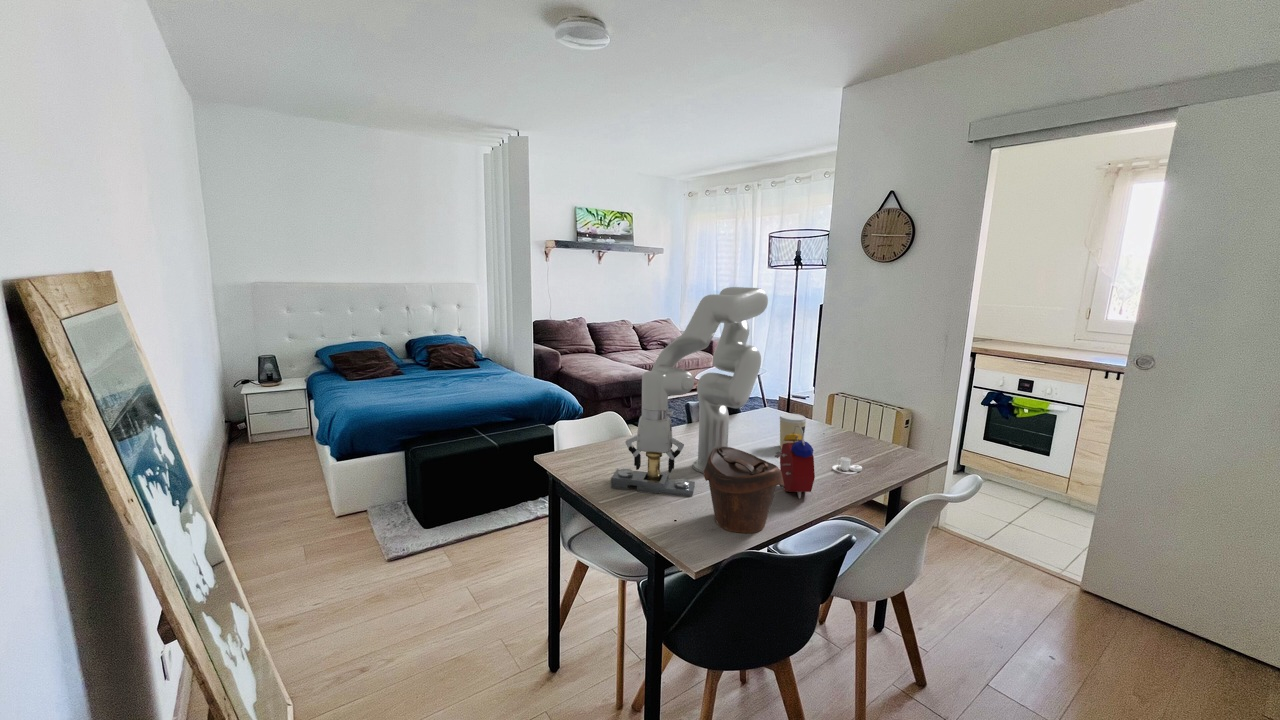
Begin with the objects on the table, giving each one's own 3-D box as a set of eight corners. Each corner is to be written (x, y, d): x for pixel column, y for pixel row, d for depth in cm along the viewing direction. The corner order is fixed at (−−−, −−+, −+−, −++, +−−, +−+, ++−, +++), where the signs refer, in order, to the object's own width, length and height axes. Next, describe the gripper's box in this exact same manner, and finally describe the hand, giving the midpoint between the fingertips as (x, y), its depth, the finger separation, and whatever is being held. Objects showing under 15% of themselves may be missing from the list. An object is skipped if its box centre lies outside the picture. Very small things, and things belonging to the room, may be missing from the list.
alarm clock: (813, 502, 143) (818, 433, 140) (782, 501, 143) (786, 433, 140) (798, 481, 157) (802, 418, 154) (770, 480, 158) (773, 418, 154)
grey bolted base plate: (694, 485, 153) (695, 472, 152) (691, 497, 145) (692, 483, 145) (617, 478, 158) (617, 465, 157) (610, 488, 150) (610, 475, 150)
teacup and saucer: (864, 471, 168) (865, 459, 167) (855, 477, 162) (856, 465, 161) (837, 464, 174) (838, 452, 173) (828, 470, 168) (829, 458, 167)
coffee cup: (807, 452, 184) (809, 420, 182) (781, 452, 184) (783, 419, 182) (800, 444, 193) (802, 413, 191) (775, 443, 193) (777, 412, 191)
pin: (662, 485, 153) (663, 450, 152) (660, 491, 149) (660, 455, 147) (647, 483, 154) (647, 448, 153) (643, 489, 150) (644, 454, 148)
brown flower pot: (785, 543, 120) (789, 471, 118) (700, 535, 124) (702, 465, 121) (778, 510, 138) (782, 446, 135) (703, 503, 141) (706, 441, 138)
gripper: (685, 412, 150) (684, 467, 153) (628, 408, 153) (628, 462, 156) (682, 419, 143) (681, 477, 146) (622, 415, 146) (622, 471, 149)
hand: (654, 469), depth 151 cm, fingers open, 9 cm apart
